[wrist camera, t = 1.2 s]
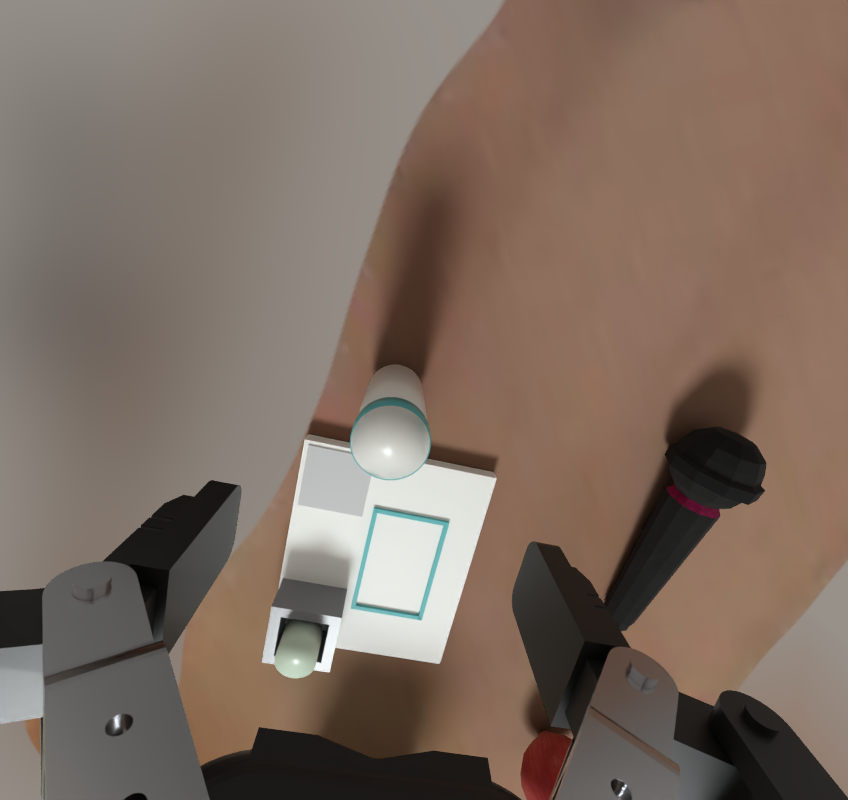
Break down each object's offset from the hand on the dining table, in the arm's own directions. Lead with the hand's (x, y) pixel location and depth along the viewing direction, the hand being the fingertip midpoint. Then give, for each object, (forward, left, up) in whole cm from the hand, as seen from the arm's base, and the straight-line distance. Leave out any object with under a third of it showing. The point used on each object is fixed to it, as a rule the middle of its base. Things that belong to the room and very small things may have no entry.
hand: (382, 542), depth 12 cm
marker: (0, 0, -18) cm, 18 cm away
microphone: (+7, +20, -18) cm, 28 cm away
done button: (+17, -2, -14) cm, 23 cm away
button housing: (+17, -2, -16) cm, 24 cm away
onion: (+27, +19, -18) cm, 37 cm away
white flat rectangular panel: (+12, +2, -18) cm, 22 cm away
